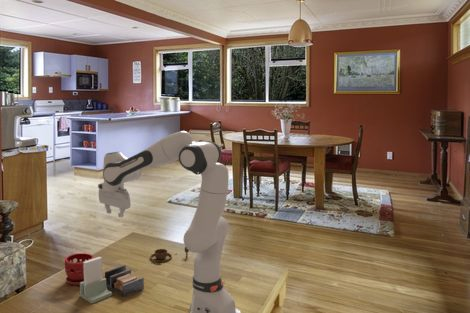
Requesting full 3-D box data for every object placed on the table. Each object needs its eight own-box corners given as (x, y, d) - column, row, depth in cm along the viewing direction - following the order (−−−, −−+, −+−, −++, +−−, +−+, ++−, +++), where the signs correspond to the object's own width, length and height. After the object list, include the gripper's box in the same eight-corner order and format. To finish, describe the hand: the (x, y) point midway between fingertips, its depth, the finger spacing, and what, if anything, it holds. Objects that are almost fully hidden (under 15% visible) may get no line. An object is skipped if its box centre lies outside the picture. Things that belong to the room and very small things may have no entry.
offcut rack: (143, 288, 186) (143, 273, 185) (123, 297, 178) (123, 281, 177) (124, 279, 196) (124, 264, 194) (105, 286, 187) (104, 271, 186)
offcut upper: (137, 281, 186) (136, 277, 185) (124, 286, 180) (124, 282, 180) (129, 277, 189) (129, 273, 189) (116, 282, 184) (116, 278, 184)
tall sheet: (102, 288, 182) (101, 257, 180) (86, 295, 176) (85, 263, 174) (100, 287, 183) (99, 256, 181) (84, 293, 177) (83, 261, 175)
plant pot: (78, 289, 184) (77, 265, 182) (59, 282, 190) (58, 259, 189) (100, 278, 195) (99, 255, 194) (81, 272, 202) (80, 250, 200)
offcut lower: (139, 285, 186) (139, 281, 186) (123, 291, 179) (123, 287, 179) (130, 280, 191) (130, 276, 190) (114, 287, 184) (114, 283, 184)
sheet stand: (112, 295, 179) (111, 281, 178) (91, 303, 172) (91, 289, 171) (99, 288, 186) (99, 275, 185) (79, 296, 178) (79, 282, 177)
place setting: (158, 252, 232) (158, 242, 231) (190, 256, 227) (190, 246, 226) (144, 263, 215) (144, 253, 214) (178, 268, 210) (178, 258, 209)
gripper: (133, 188, 180) (134, 217, 182) (107, 182, 193) (108, 209, 195) (121, 190, 175) (122, 220, 177) (95, 184, 188) (96, 212, 190)
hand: (114, 215), depth 186 cm, fingers open, 8 cm apart
